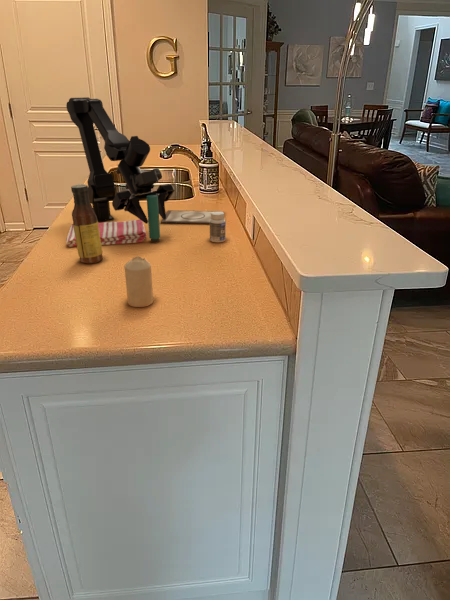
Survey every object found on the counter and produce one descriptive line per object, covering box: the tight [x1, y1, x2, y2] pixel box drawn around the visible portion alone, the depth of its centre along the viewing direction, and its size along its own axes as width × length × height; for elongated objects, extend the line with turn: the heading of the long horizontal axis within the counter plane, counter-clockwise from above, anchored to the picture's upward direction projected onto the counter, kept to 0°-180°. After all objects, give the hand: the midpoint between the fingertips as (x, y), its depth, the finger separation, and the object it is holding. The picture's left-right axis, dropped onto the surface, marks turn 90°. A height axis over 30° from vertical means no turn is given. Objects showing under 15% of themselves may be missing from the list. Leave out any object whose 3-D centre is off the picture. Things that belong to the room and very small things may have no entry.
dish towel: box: [65, 218, 148, 248], centre depth 145 cm, size 17×23×4 cm
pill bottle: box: [209, 210, 227, 243], centre depth 140 cm, size 5×5×8 cm
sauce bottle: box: [70, 183, 103, 264], centre depth 122 cm, size 6×6×20 cm
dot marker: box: [146, 195, 161, 244], centre depth 138 cm, size 3×3×14 cm
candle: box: [124, 256, 154, 308], centre depth 101 cm, size 6×6×10 cm
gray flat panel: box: [160, 209, 224, 225], centre depth 164 cm, size 20×15×1 cm
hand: (156, 220), depth 137 cm, fingers open, 6 cm apart
